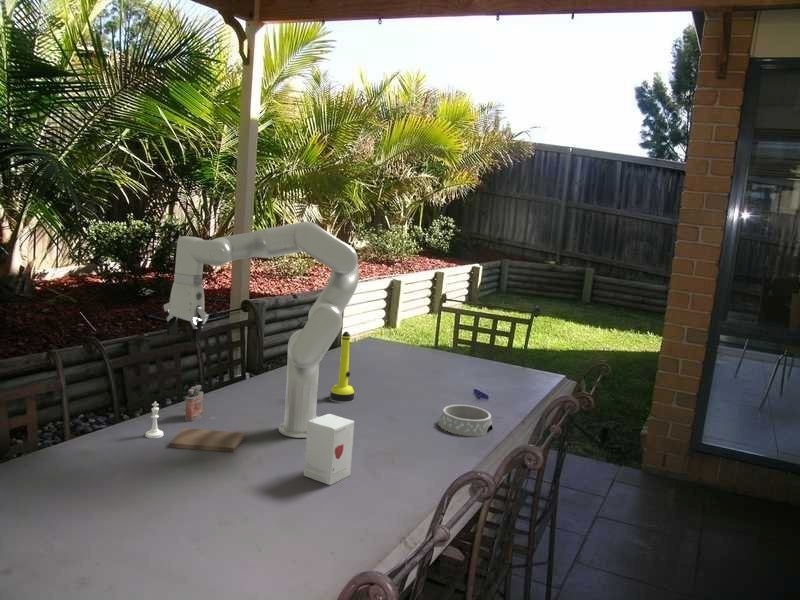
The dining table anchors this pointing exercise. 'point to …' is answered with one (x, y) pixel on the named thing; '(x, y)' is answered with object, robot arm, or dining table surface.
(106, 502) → the dining table surface
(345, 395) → the flashlight
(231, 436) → the walnut board
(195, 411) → the lighter
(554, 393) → the dining table surface
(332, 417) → the supplement box
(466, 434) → the dog bowl
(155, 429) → the chess piece
